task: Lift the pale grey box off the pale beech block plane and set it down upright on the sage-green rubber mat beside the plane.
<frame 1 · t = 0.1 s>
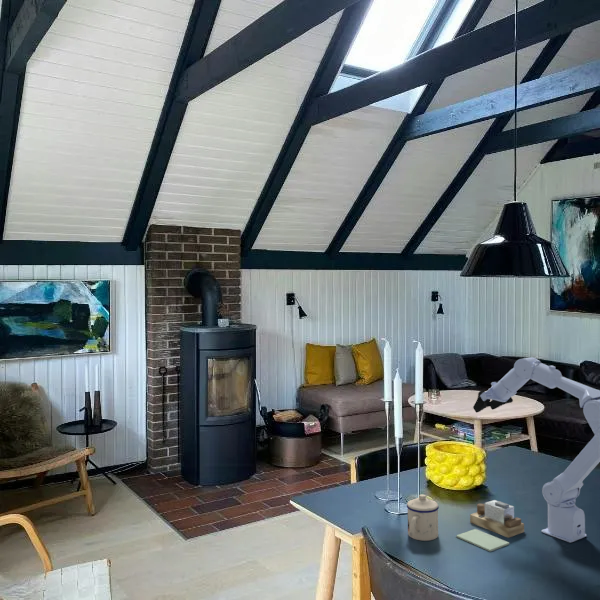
hand: (483, 408, 202), 32 cm above the table, tool tilted 50°, fingers open, 7 cm apart
block plane: (496, 527, 185), on the table
mat: (482, 540, 176), on the table
pale grey box: (499, 519, 184), point 2 cm above the table, touching block plane
teacup with lid: (421, 537, 179), on the table
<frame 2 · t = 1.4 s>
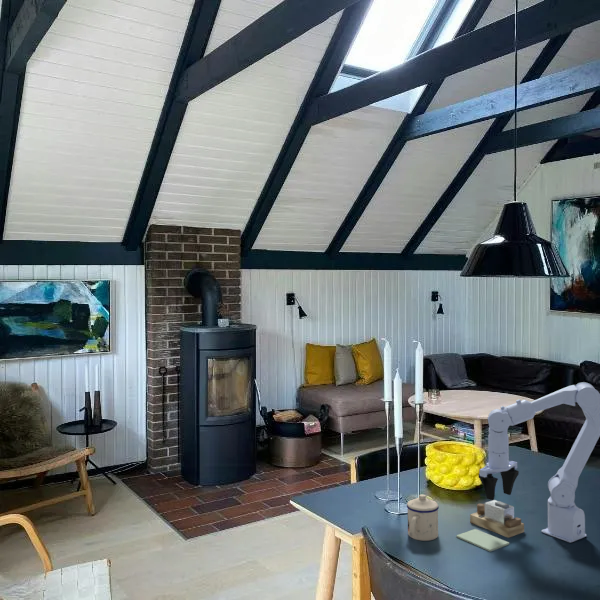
hand: (498, 496, 184), 9 cm above the table, tool pointing down, fingers open, 7 cm apart
nothing on the table moved.
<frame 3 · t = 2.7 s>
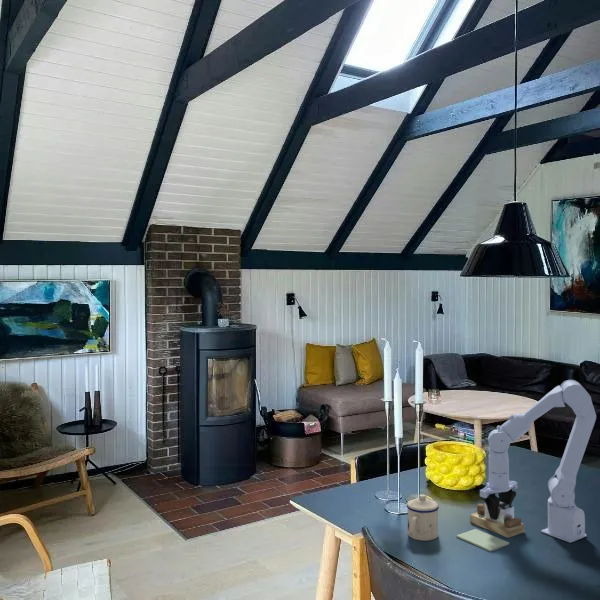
hand: (499, 516, 184), 3 cm above the table, tool pointing down, fingers closed on pale grey box, 4 cm apart
pale grey box: (499, 519, 184), point 2 cm above the table, touching block plane, gripper
everything else where it was.
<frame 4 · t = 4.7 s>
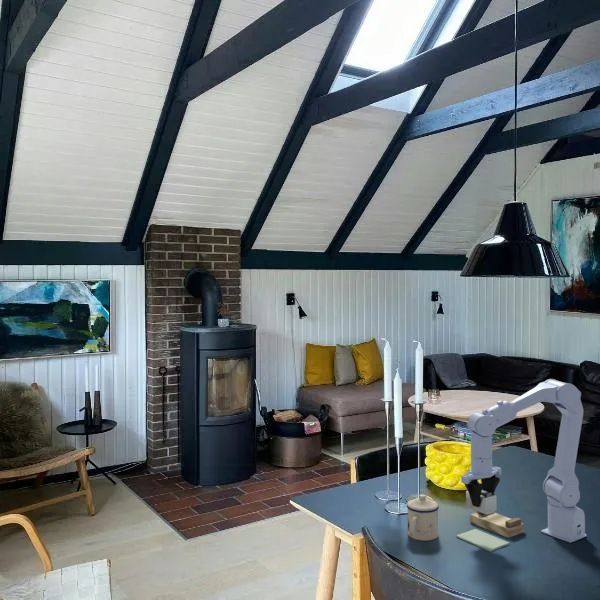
hand: (481, 504, 175), 10 cm above the table, tool pointing down, fingers closed on pale grey box, 4 cm apart
pale grey box: (481, 508, 176), point 9 cm above the table, touching gripper
everything else where it was.
when the fingers open (3 cm above the table, at t = 6.9 s): pale grey box stays where it is, resting on mat.
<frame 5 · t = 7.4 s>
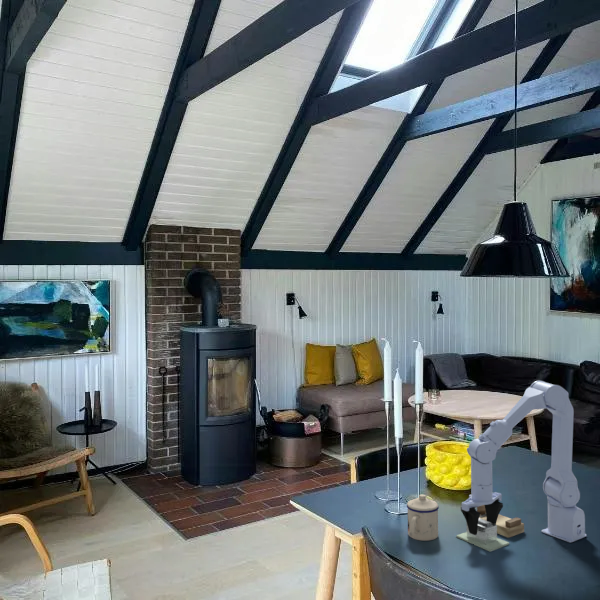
hand: (482, 530, 176), 3 cm above the table, tool pointing down, fingers open, 7 cm apart
pale grey box: (481, 538, 176), resting on mat
everything else where it was.
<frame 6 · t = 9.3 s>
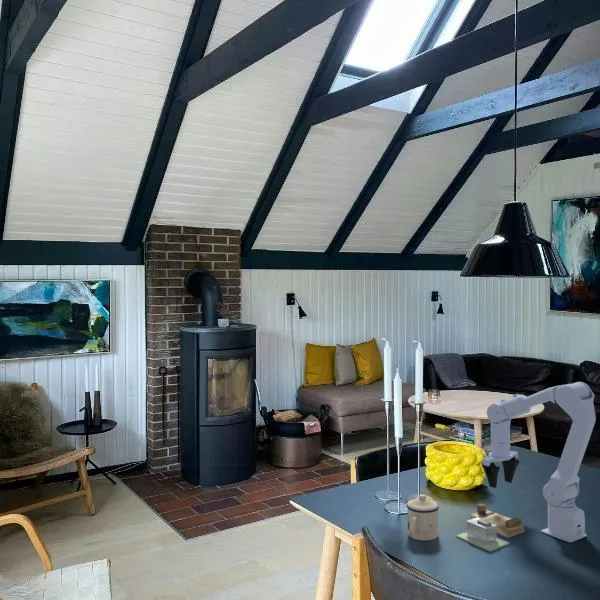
hand: (500, 484, 195), 9 cm above the table, tool pointing down, fingers open, 7 cm apart
nothing on the table moved.
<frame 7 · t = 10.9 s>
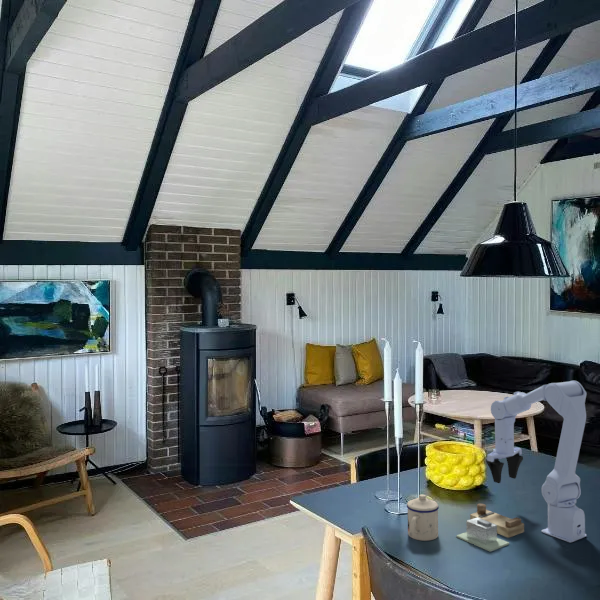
hand: (504, 480, 199), 9 cm above the table, tool pointing down, fingers open, 7 cm apart
nothing on the table moved.
at the end: pale grey box inside the target area on the mat (0.2 cm from its centre), point 0.5 cm above the mat's base; pale grey box tilted 0°; the gripper is holding nothing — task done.
